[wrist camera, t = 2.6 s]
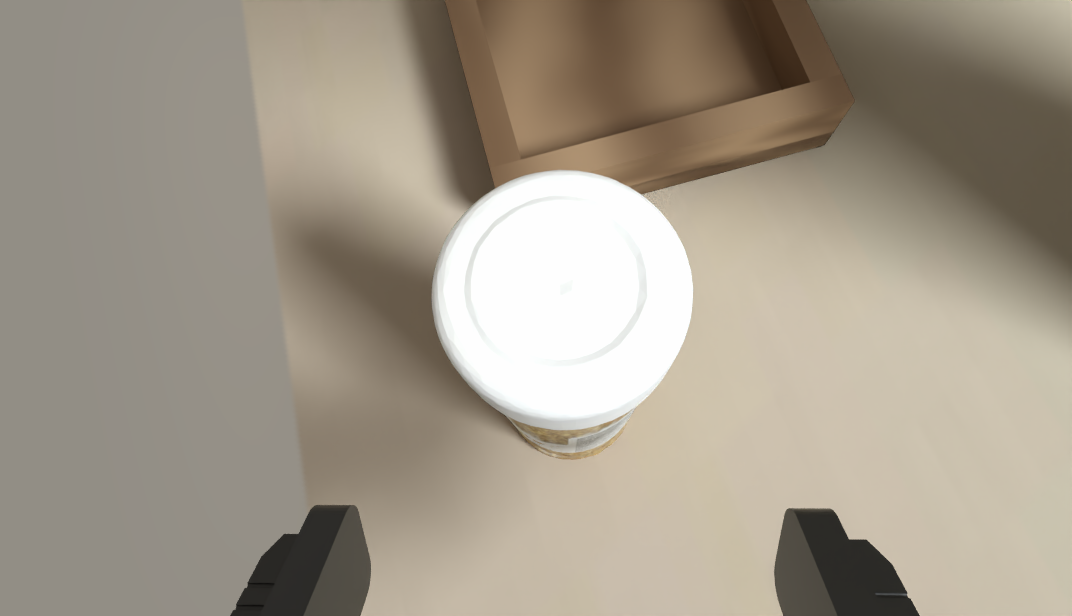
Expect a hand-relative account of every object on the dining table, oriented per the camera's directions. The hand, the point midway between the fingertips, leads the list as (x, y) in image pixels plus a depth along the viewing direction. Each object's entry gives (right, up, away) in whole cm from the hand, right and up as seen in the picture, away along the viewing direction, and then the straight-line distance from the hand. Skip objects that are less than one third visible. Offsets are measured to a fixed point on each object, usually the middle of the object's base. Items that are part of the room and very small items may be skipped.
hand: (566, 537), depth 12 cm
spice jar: (+1, +1, +12) cm, 12 cm away
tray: (+3, +15, +16) cm, 22 cm away
